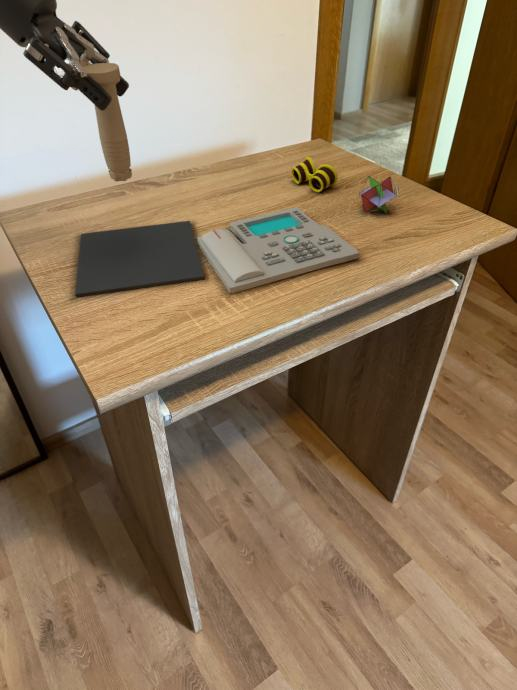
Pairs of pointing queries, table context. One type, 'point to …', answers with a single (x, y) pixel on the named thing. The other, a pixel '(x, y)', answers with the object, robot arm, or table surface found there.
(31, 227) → the table surface
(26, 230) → the table surface
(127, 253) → the mat
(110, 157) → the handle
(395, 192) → the geometric puzzle
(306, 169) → the opera glasses
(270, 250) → the office telephone
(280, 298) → the table surface
